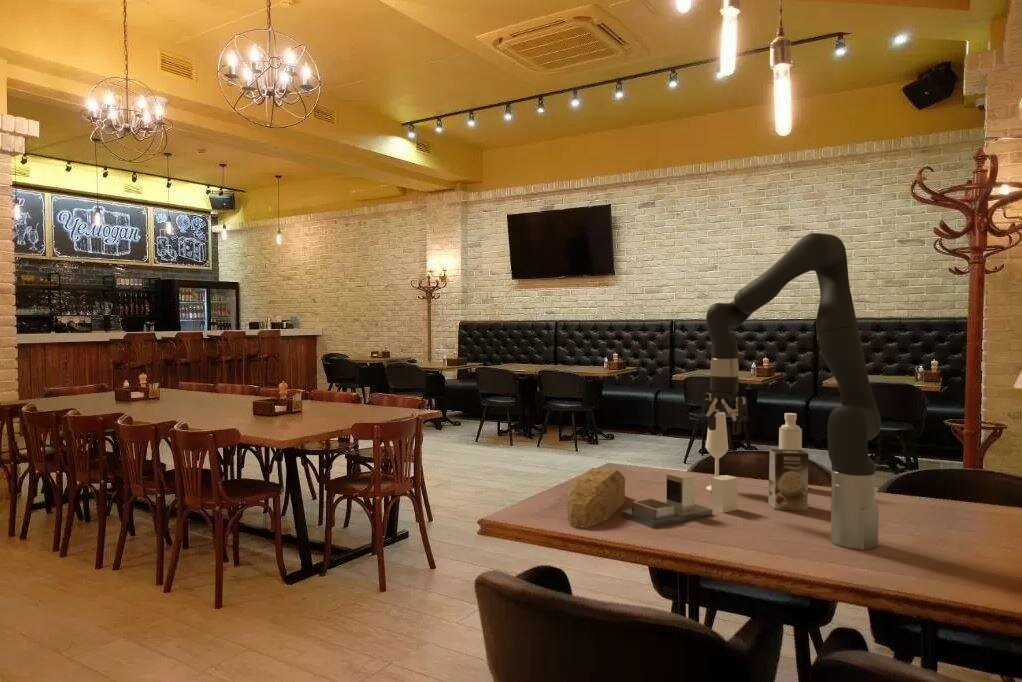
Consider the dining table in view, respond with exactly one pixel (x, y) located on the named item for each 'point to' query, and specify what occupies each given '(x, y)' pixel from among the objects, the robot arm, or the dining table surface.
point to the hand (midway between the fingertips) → (724, 432)
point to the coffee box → (788, 479)
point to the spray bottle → (790, 433)
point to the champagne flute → (717, 441)
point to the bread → (595, 496)
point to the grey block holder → (669, 504)
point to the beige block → (724, 493)
